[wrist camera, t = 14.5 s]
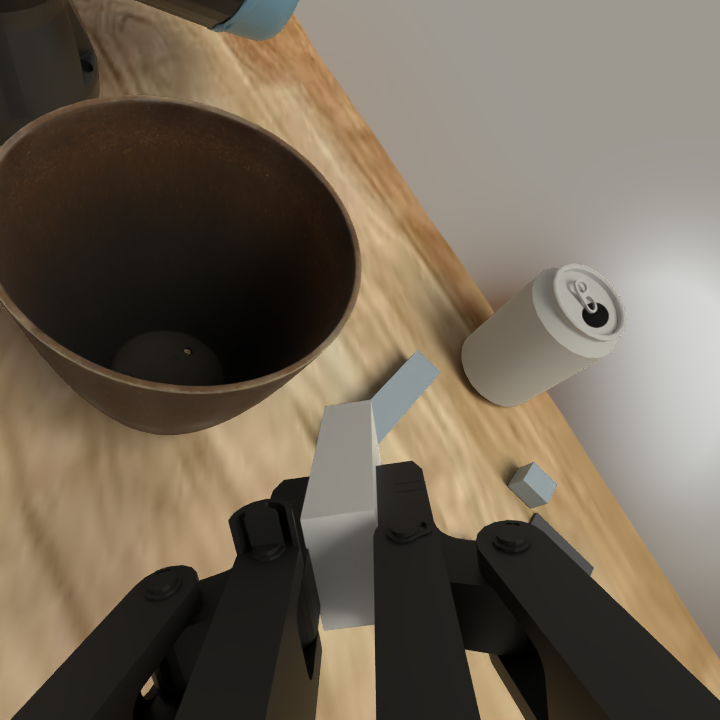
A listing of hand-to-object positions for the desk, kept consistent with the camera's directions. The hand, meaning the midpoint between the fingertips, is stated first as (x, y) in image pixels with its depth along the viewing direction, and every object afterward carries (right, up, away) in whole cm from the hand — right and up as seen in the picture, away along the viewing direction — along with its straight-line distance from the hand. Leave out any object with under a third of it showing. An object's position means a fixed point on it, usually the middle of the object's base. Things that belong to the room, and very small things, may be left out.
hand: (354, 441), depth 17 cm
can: (+12, +2, +29) cm, 31 cm away
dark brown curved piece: (-13, +1, +18) cm, 22 cm away
